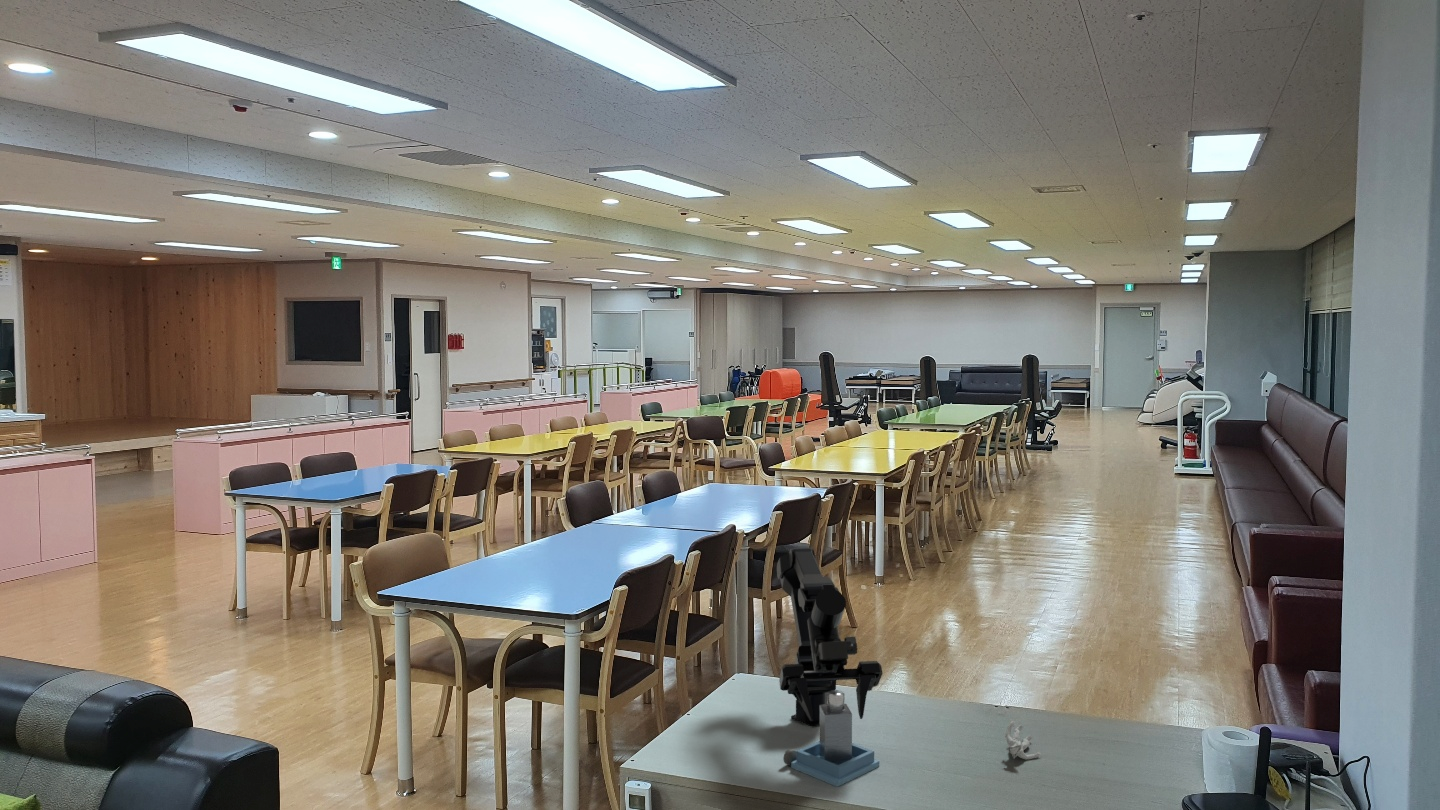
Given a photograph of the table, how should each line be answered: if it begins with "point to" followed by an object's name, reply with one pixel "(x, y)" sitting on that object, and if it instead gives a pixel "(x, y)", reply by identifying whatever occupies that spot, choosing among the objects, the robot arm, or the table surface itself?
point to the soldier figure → (1018, 743)
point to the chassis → (831, 764)
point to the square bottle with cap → (835, 729)
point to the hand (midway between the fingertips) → (836, 719)
